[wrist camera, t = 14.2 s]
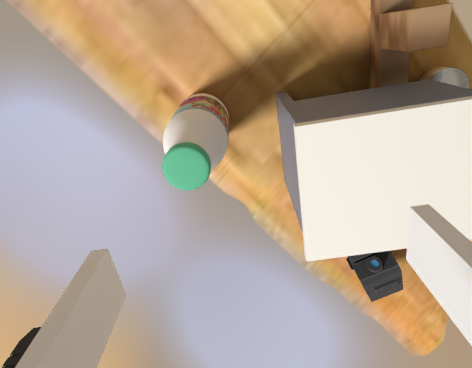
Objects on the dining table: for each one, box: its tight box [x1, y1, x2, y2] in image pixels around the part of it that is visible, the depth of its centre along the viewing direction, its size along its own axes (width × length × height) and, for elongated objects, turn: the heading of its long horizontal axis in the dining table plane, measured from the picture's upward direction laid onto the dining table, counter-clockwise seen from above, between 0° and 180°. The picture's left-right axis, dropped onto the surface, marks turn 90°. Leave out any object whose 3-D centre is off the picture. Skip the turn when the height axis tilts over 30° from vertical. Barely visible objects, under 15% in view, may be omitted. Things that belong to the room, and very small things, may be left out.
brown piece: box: [370, 0, 452, 89], centre depth 41 cm, size 22×4×11 cm, turn 9°
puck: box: [418, 66, 470, 89], centre depth 46 cm, size 6×6×3 cm
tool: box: [347, 251, 403, 302], centre depth 54 cm, size 6×19×15 cm, turn 30°
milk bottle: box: [162, 93, 229, 190], centre depth 40 cm, size 8×8×20 cm
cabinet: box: [275, 79, 472, 261], centre depth 41 cm, size 15×19×20 cm
